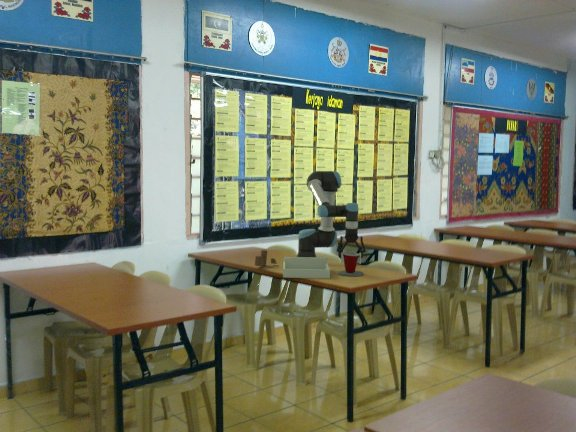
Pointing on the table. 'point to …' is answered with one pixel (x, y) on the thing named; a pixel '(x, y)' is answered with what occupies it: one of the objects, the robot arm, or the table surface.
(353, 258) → the plastic cup
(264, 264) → the wooden block set
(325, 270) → the light grey tray
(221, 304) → the table surface
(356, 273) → the saucer
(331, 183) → the robot arm
